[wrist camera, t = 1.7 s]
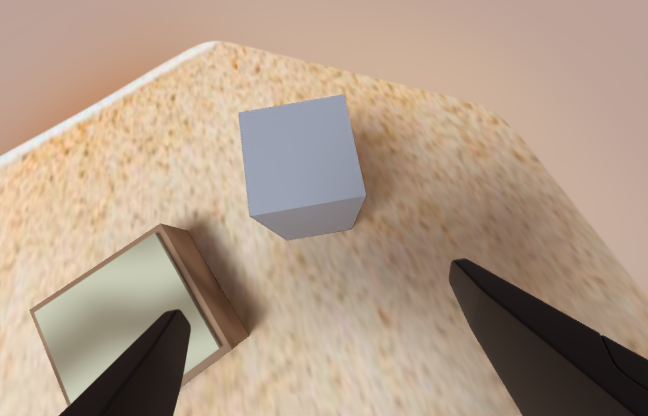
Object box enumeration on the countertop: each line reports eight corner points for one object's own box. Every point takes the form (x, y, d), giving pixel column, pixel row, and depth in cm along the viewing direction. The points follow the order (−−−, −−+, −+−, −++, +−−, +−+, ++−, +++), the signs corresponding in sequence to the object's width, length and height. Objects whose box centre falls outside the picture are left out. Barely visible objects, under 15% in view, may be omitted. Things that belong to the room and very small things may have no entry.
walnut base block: (249, 335, 20) (229, 350, 16) (132, 422, 19) (83, 459, 15) (187, 230, 22) (157, 222, 18) (78, 303, 21) (24, 310, 17)
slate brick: (351, 229, 22) (366, 195, 12) (287, 240, 22) (249, 216, 12) (339, 169, 23) (344, 94, 13) (278, 179, 23) (238, 112, 13)
